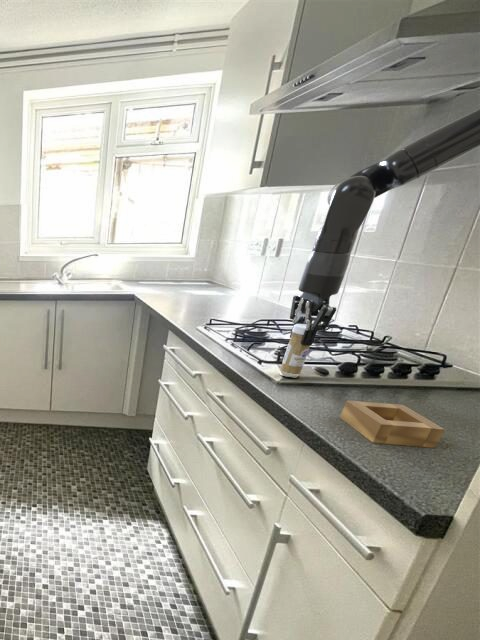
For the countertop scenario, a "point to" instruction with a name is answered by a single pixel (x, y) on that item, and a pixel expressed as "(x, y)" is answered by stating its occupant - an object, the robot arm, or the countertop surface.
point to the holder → (391, 424)
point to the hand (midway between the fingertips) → (300, 341)
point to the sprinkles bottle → (295, 351)
